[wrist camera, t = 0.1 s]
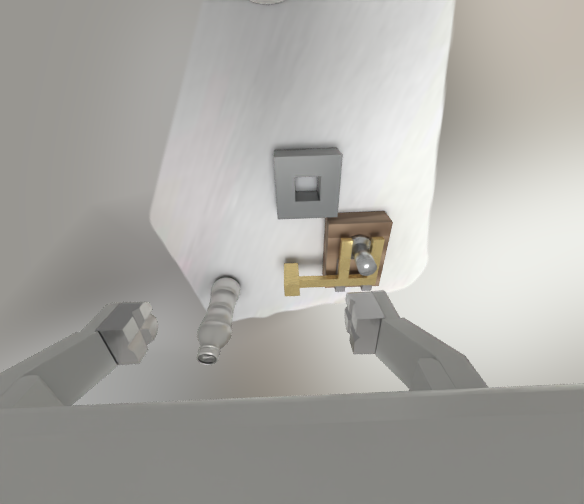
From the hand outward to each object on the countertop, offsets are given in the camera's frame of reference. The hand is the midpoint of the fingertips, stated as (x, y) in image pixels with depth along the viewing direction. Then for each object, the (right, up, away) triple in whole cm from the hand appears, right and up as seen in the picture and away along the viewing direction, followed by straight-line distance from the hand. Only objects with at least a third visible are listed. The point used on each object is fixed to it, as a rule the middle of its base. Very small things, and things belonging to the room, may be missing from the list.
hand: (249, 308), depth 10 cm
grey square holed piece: (+4, +16, +36) cm, 40 cm away
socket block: (+15, +4, +45) cm, 47 cm away
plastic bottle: (-14, -5, +51) cm, 53 cm away
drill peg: (+15, +6, +43) cm, 46 cm away
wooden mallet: (+9, +2, +43) cm, 44 cm away
